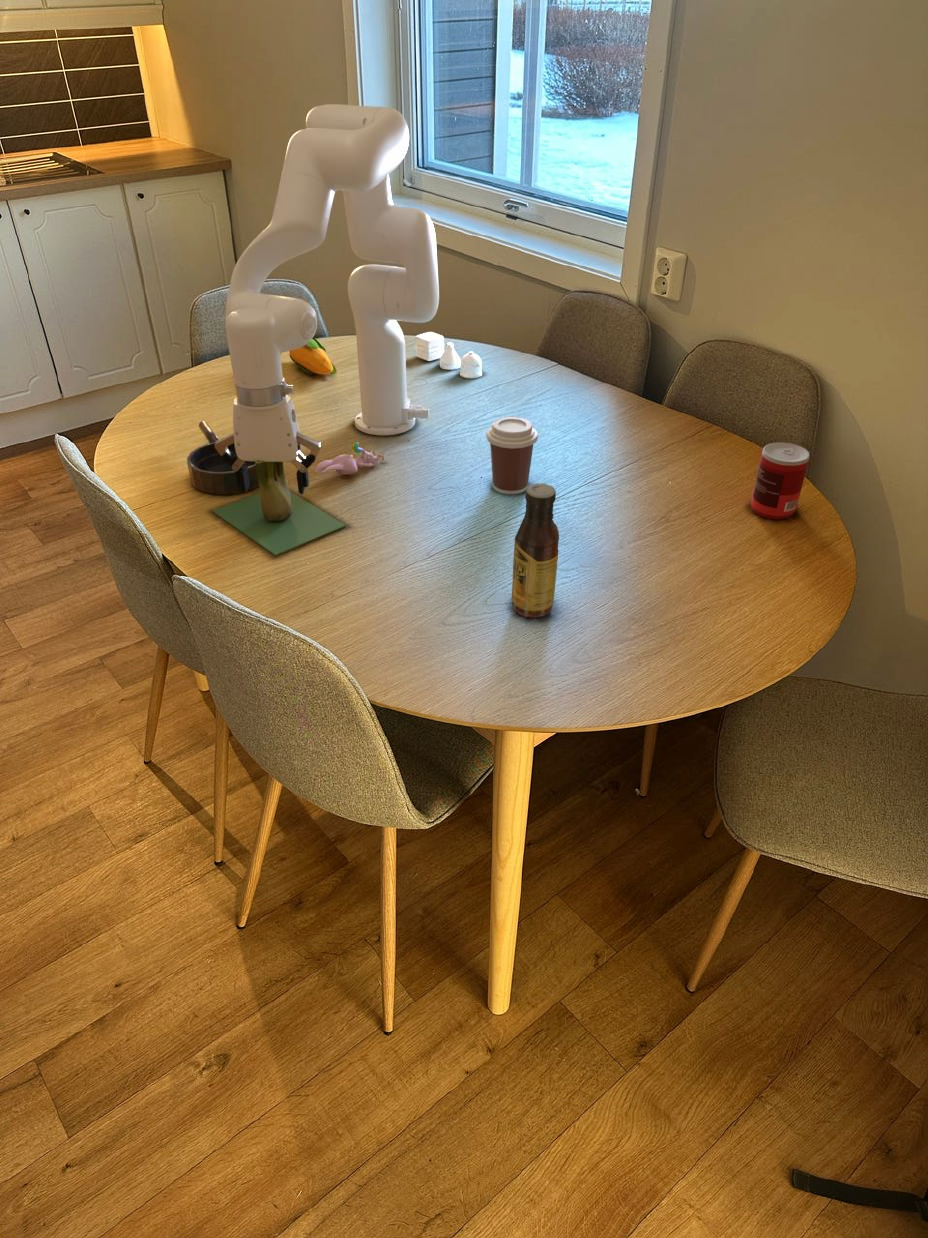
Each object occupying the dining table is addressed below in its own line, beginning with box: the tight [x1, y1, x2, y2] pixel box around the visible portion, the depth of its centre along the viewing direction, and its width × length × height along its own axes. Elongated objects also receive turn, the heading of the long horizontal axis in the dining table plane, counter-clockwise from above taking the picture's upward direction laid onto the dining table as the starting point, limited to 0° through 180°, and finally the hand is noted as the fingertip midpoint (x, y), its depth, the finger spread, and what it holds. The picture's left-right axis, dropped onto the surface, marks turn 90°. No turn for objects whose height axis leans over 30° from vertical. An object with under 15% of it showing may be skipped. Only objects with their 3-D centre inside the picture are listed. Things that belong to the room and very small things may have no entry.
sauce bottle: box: [511, 482, 560, 619], centre depth 123 cm, size 7×6×20 cm
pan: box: [186, 442, 265, 496], centre depth 161 cm, size 14×14×4 cm
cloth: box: [211, 491, 347, 557], centre depth 150 cm, size 20×14×1 cm
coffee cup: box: [485, 416, 539, 495], centre depth 157 cm, size 9×9×12 cm
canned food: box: [750, 441, 811, 520], centre depth 150 cm, size 8×8×11 cm
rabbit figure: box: [314, 441, 386, 476], centre depth 163 cm, size 6×6×15 cm
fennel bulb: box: [255, 460, 293, 521], centre depth 147 cm, size 6×5×12 cm
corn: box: [288, 337, 338, 375], centre depth 206 cm, size 7×8×20 cm
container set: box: [414, 331, 483, 379], centre depth 209 cm, size 20×5×6 cm, turn 42°
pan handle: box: [198, 420, 220, 444], centre depth 170 cm, size 12×2×2 cm, turn 28°
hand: (274, 489), depth 147 cm, fingers open, 9 cm apart
